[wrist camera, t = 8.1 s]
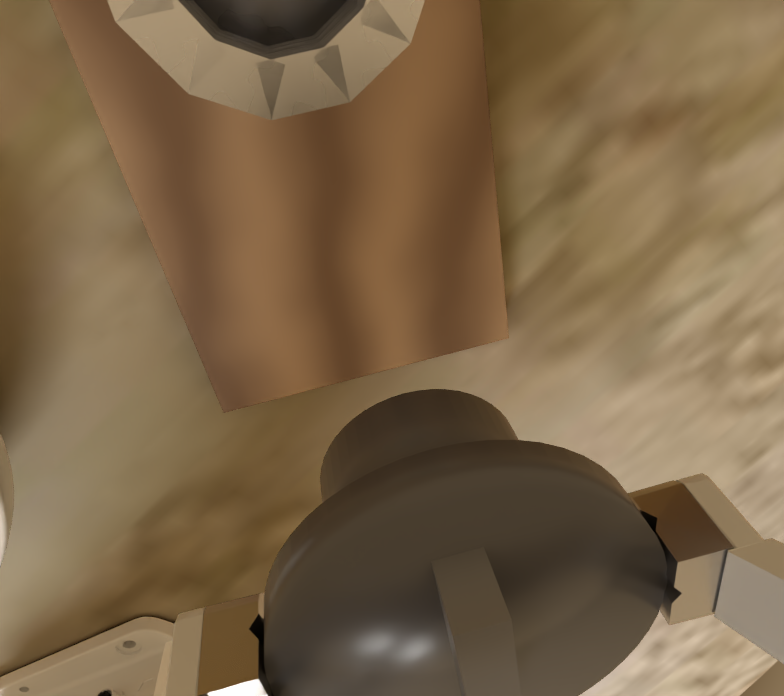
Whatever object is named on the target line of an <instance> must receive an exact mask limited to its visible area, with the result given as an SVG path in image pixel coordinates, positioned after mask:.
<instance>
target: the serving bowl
mask: <svg viewBox="0 0 784 696" xmlns="http://www.w3.org/2000/svg"><path fill="white" fill-rule="evenodd" d="M13 508H14V485H13V477H12V469H11V465H10V461H9V457H8V454H7V450H6V447H5V444H4V441H3V439H2V436H1V434H0V566H1V564H2V562H3V559H4V556H5V552H6V548H7V544H8V539H9V534H10V529H11V524H12V517H13Z"/></svg>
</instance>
